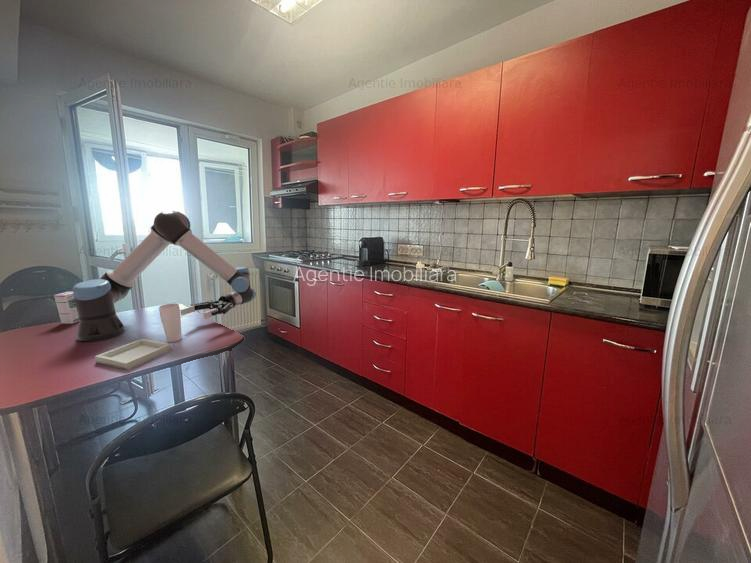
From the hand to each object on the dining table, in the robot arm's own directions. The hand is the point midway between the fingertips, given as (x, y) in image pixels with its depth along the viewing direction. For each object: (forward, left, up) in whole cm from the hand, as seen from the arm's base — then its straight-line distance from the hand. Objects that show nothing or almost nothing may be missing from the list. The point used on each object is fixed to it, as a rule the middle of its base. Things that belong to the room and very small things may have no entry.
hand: (192, 314), depth 130 cm
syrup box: (-67, -10, -8) cm, 68 cm away
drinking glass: (0, -10, -8) cm, 13 cm away
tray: (0, -25, -8) cm, 26 cm away
